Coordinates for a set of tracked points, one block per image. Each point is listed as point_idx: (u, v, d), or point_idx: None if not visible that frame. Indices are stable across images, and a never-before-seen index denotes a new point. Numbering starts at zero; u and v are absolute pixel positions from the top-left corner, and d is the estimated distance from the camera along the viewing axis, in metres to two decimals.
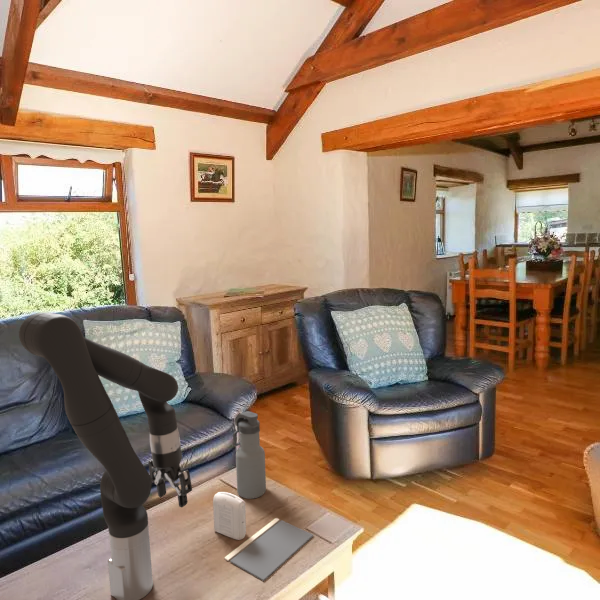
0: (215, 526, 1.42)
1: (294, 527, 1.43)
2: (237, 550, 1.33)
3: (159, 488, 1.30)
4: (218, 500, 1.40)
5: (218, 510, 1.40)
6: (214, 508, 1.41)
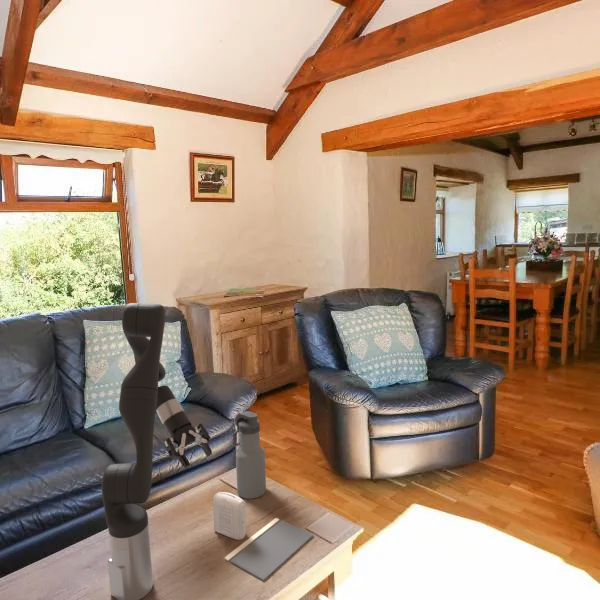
0: (215, 526, 1.42)
1: (294, 527, 1.43)
2: (237, 550, 1.33)
3: None
4: (218, 500, 1.40)
5: (218, 510, 1.40)
6: (214, 508, 1.41)
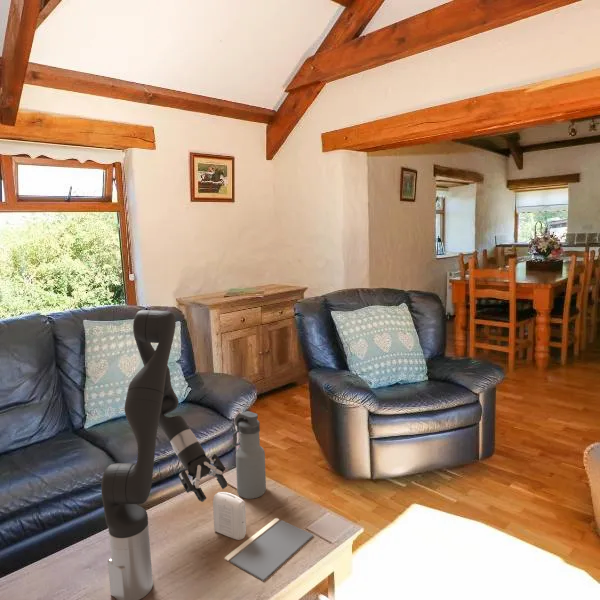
0: (215, 526, 1.42)
1: (294, 527, 1.43)
2: (237, 550, 1.33)
3: None
4: (218, 500, 1.40)
5: (218, 510, 1.40)
6: (214, 508, 1.41)
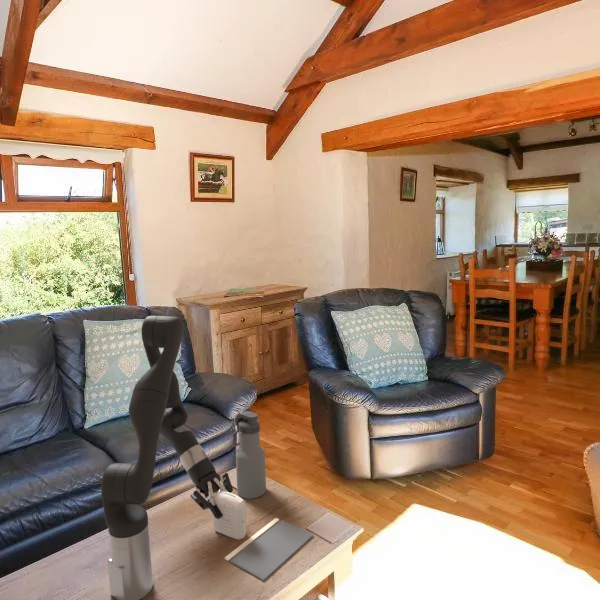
0: (215, 526, 1.42)
1: (294, 527, 1.43)
2: (237, 550, 1.33)
3: None
4: (218, 500, 1.40)
5: None
6: None
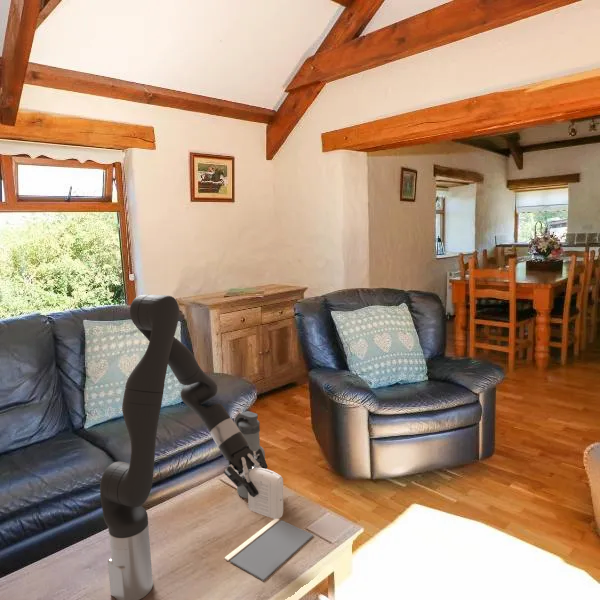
0: (250, 504, 1.32)
1: (294, 527, 1.43)
2: (237, 550, 1.33)
3: None
4: (254, 476, 1.29)
5: None
6: None
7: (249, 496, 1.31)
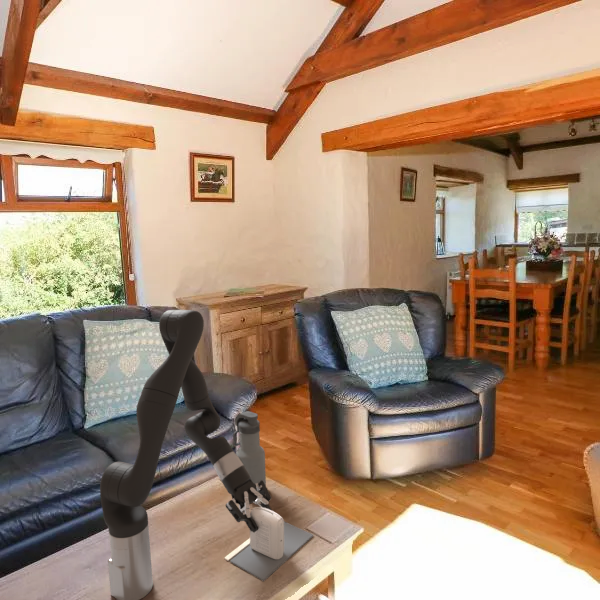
0: (251, 543, 1.33)
1: (294, 527, 1.43)
2: (237, 550, 1.33)
3: None
4: (255, 516, 1.31)
5: None
6: None
7: (251, 535, 1.33)
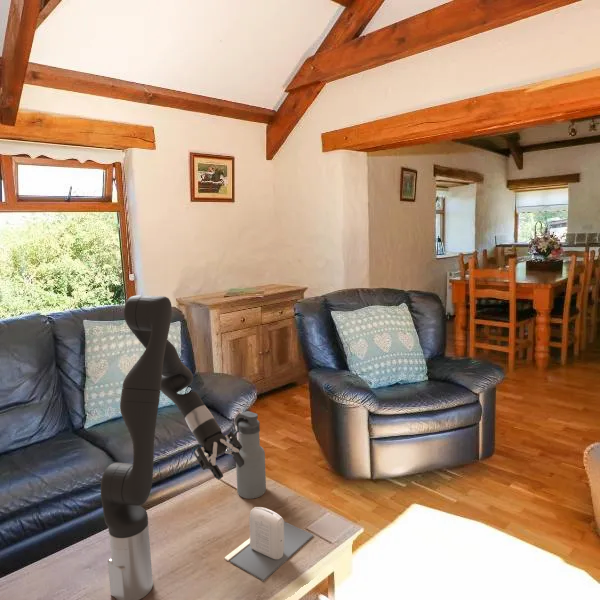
0: (251, 543, 1.33)
1: (294, 527, 1.43)
2: (237, 550, 1.33)
3: None
4: (255, 516, 1.31)
5: (254, 526, 1.31)
6: (251, 524, 1.32)
7: (251, 535, 1.33)
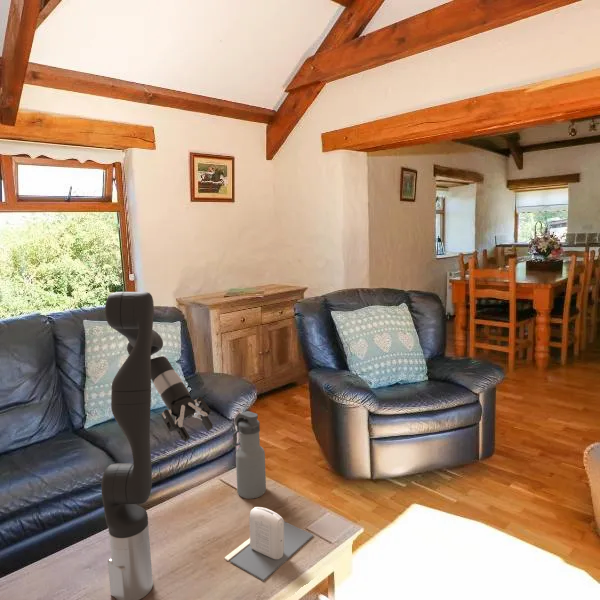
0: (251, 543, 1.33)
1: (294, 527, 1.43)
2: (237, 550, 1.33)
3: None
4: (255, 516, 1.31)
5: (254, 526, 1.31)
6: (251, 524, 1.32)
7: (251, 535, 1.33)
